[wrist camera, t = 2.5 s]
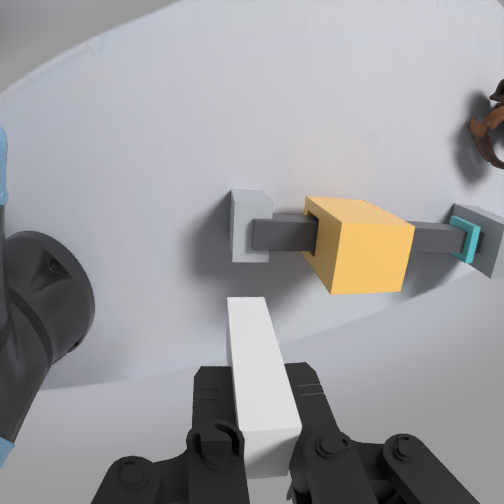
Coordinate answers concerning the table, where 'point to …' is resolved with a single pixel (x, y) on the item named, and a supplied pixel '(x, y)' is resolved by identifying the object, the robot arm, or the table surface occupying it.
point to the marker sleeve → (358, 246)
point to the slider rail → (425, 234)
